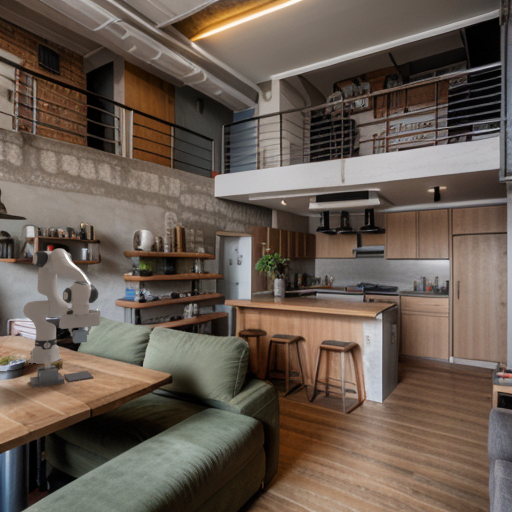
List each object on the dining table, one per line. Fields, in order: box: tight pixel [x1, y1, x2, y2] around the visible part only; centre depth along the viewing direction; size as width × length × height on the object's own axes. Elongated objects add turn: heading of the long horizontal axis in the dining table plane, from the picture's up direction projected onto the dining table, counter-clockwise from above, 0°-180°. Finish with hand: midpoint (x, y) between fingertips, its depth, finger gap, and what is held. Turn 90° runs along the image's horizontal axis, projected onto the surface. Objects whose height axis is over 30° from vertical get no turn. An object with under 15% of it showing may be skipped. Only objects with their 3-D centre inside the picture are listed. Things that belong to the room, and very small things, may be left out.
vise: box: [29, 356, 66, 389], centre depth 185 cm, size 13×14×14 cm
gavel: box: [42, 360, 64, 370], centre depth 202 cm, size 21×5×10 cm
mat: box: [63, 370, 94, 383], centre depth 194 cm, size 14×12×1 cm
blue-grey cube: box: [72, 329, 88, 344], centre depth 195 cm, size 6×6×6 cm
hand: (79, 335), depth 195 cm, fingers closed on blue-grey cube, 6 cm apart
